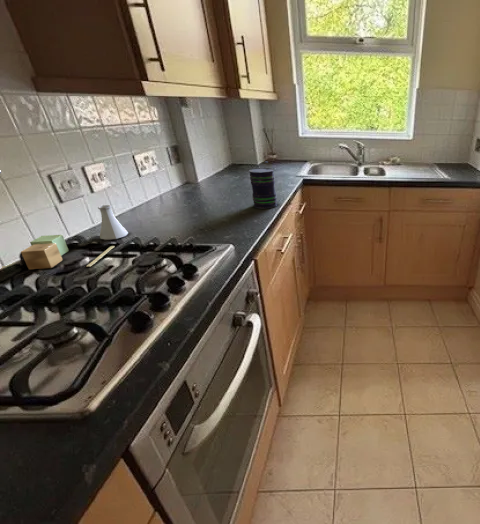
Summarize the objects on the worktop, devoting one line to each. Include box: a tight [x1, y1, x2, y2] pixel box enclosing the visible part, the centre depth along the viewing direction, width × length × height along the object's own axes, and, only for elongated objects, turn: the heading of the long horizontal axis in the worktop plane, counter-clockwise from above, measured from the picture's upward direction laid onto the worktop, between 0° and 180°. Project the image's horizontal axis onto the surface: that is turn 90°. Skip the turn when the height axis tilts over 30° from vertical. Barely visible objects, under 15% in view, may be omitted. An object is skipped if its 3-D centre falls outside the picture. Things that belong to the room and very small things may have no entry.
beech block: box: [20, 243, 64, 270], centre depth 87 cm, size 5×5×5 cm
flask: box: [97, 204, 129, 241], centre depth 105 cm, size 7×7×10 cm
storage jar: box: [249, 161, 278, 209], centre depth 139 cm, size 10×10×18 cm
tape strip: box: [86, 245, 115, 268], centre depth 93 cm, size 1×14×1 cm, turn 13°
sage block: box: [29, 234, 69, 257], centre depth 92 cm, size 5×5×5 cm
